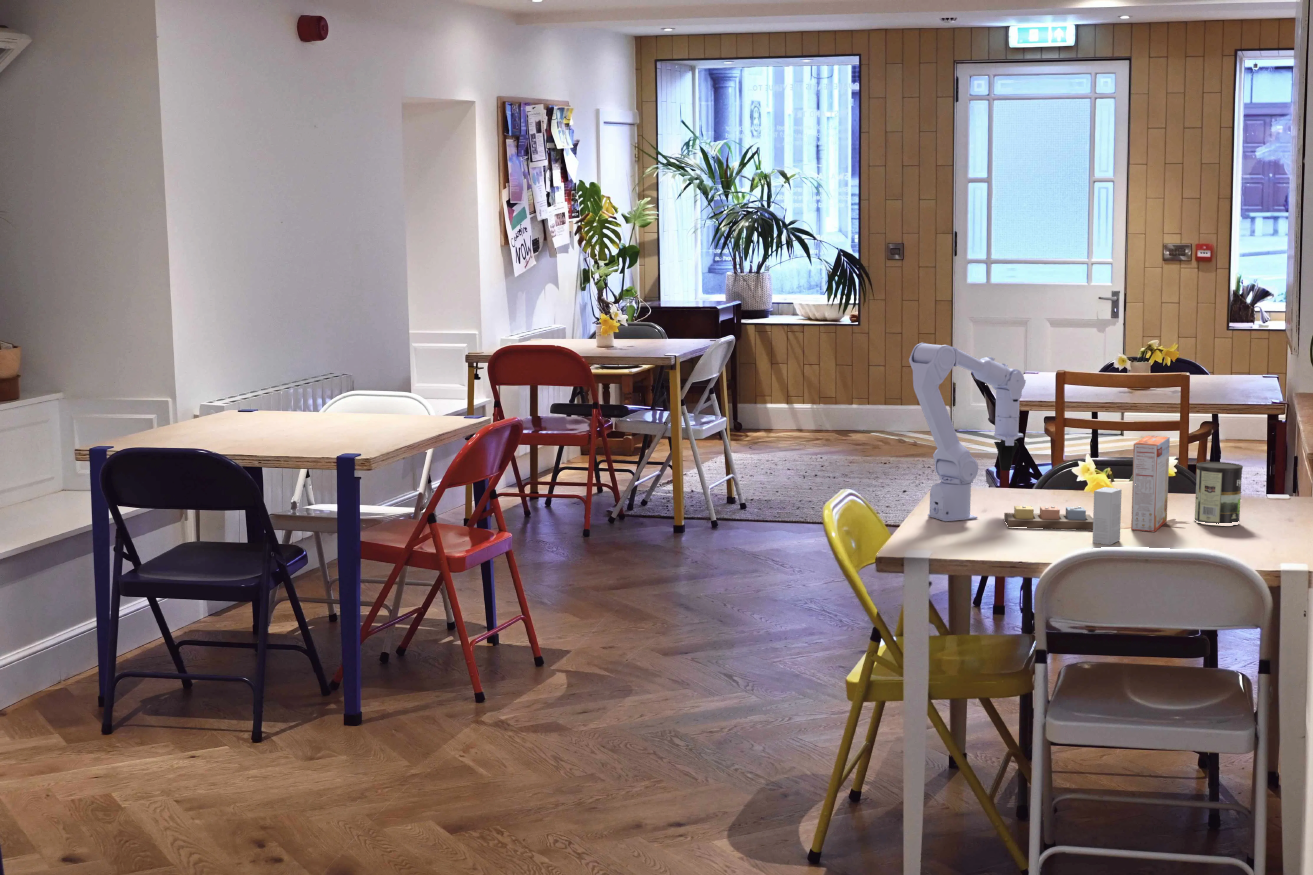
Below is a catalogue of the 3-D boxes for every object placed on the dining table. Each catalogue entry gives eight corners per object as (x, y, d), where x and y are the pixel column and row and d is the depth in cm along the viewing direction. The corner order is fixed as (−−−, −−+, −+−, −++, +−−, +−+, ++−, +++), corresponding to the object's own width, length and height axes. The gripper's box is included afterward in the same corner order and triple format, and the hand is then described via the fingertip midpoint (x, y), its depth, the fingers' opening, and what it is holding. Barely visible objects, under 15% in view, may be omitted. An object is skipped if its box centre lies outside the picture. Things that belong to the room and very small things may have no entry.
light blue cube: (1067, 524, 329) (1068, 508, 329) (1065, 521, 333) (1065, 505, 333) (1085, 525, 329) (1086, 509, 328) (1082, 521, 333) (1083, 506, 332)
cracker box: (1141, 520, 338) (1145, 434, 335) (1167, 522, 335) (1171, 436, 332) (1128, 530, 326) (1132, 442, 323) (1155, 532, 323) (1159, 443, 320)
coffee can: (1238, 519, 338) (1241, 462, 336) (1241, 528, 328) (1244, 469, 326) (1192, 517, 341) (1195, 460, 339) (1194, 525, 331) (1197, 467, 329)
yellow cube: (1015, 523, 331) (1016, 507, 330) (1013, 520, 335) (1014, 504, 334) (1033, 523, 330) (1033, 508, 330) (1030, 520, 334) (1031, 505, 334)
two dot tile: (1041, 524, 330) (1042, 508, 329) (1039, 520, 334) (1040, 505, 333) (1059, 524, 329) (1059, 508, 329) (1056, 521, 333) (1057, 505, 333)
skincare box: (1101, 538, 317) (1104, 486, 316) (1120, 541, 314) (1122, 488, 313) (1091, 543, 313) (1093, 490, 311) (1109, 545, 310) (1112, 492, 308)
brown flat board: (1008, 528, 329) (1008, 519, 328) (1004, 520, 338) (1004, 512, 337) (1095, 530, 326) (1096, 521, 326) (1089, 522, 335) (1089, 514, 335)
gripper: (1027, 420, 339) (1025, 475, 340) (1020, 413, 353) (1018, 465, 355) (997, 419, 340) (996, 474, 341) (991, 412, 354) (990, 465, 356)
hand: (1005, 470), depth 348 cm, fingers closed
